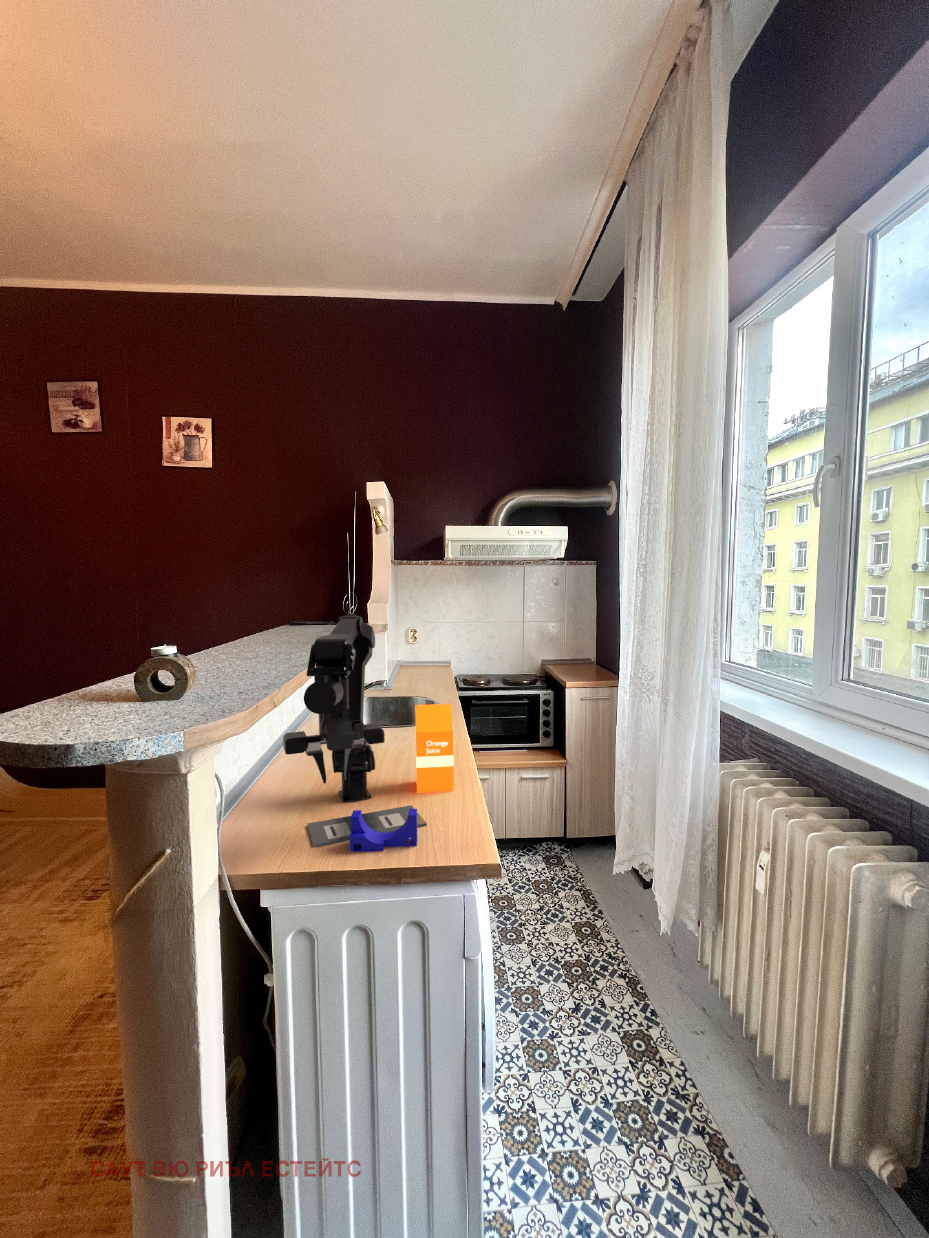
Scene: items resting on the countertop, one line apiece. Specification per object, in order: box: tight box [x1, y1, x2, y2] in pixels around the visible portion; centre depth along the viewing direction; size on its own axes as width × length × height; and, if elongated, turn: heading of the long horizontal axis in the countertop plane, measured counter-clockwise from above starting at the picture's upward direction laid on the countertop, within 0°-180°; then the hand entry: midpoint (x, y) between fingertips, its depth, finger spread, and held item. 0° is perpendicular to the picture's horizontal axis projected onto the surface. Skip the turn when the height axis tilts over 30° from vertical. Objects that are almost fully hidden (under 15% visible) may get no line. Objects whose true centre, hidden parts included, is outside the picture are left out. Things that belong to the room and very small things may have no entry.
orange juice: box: [415, 703, 455, 794], centre depth 128 cm, size 8×9×20 cm
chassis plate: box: [306, 805, 428, 848], centre depth 107 cm, size 10×22×1 cm, turn 113°
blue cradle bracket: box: [349, 808, 419, 853], centre depth 98 cm, size 12×4×6 cm, turn 92°
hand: (335, 781), depth 104 cm, fingers open, 4 cm apart
